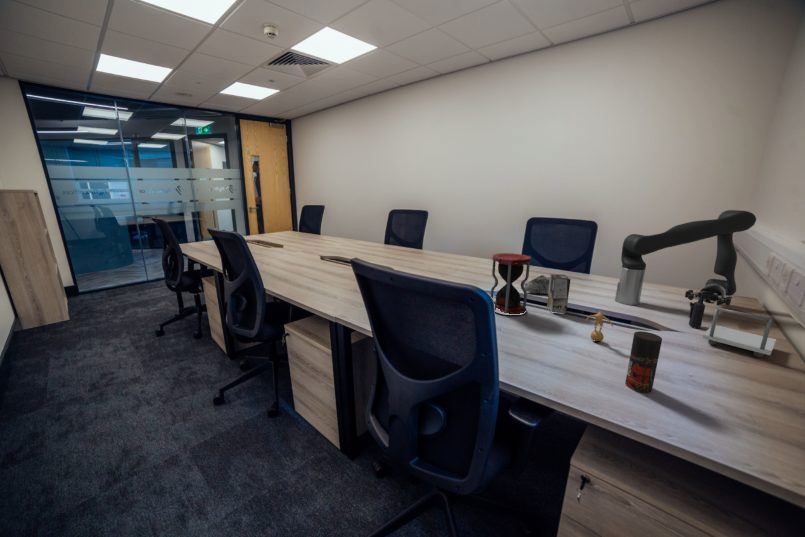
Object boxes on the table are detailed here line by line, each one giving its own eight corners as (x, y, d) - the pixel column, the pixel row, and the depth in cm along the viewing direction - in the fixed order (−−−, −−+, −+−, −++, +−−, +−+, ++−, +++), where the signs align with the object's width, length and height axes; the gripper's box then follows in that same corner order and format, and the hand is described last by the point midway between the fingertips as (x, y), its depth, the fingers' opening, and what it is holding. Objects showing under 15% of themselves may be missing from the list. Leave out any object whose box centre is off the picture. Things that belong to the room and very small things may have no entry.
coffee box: (566, 315, 141) (571, 279, 137) (551, 313, 142) (555, 278, 139) (561, 308, 150) (565, 274, 146) (546, 307, 151) (550, 273, 147)
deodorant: (620, 381, 91) (628, 331, 87) (639, 380, 91) (649, 331, 88) (636, 393, 85) (646, 341, 82) (657, 392, 85) (668, 340, 82)
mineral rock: (522, 293, 172) (524, 275, 170) (528, 288, 181) (529, 271, 178) (548, 297, 165) (550, 278, 163) (553, 292, 173) (555, 274, 171)
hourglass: (486, 313, 142) (490, 258, 137) (491, 302, 157) (494, 252, 151) (525, 318, 136) (531, 261, 131) (526, 306, 151) (531, 254, 145)
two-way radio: (701, 329, 126) (709, 293, 123) (686, 327, 128) (694, 291, 125) (698, 325, 130) (706, 289, 127) (683, 322, 133) (691, 287, 129)
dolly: (701, 344, 114) (709, 306, 111) (710, 333, 123) (718, 298, 119) (768, 362, 101) (780, 320, 98) (773, 349, 110) (784, 310, 107)
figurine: (610, 342, 115) (615, 310, 112) (608, 348, 110) (614, 315, 107) (583, 336, 119) (588, 305, 117) (581, 342, 115) (586, 310, 112)
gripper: (693, 281, 148) (683, 288, 139) (737, 288, 137) (729, 296, 128) (690, 297, 150) (680, 304, 140) (733, 305, 139) (725, 313, 129)
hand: (704, 300), depth 134 cm, fingers open, 8 cm apart
